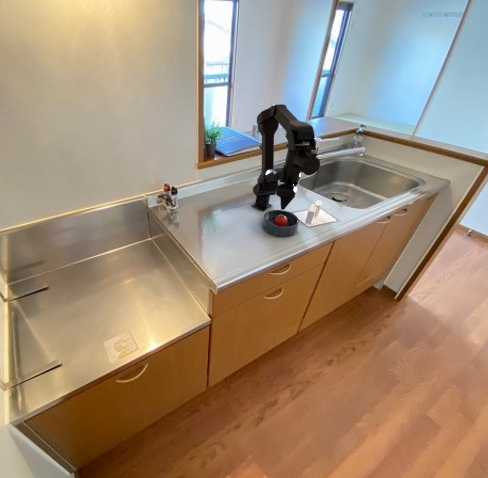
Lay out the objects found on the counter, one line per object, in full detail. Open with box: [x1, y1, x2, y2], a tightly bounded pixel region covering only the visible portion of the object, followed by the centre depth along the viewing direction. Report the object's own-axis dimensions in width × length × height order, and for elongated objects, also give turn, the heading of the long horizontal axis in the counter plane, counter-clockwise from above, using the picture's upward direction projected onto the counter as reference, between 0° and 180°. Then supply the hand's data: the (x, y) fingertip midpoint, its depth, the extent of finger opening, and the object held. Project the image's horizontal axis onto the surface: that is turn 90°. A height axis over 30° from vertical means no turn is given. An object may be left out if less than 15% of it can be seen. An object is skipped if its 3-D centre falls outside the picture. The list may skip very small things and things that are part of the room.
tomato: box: [274, 214, 287, 227], centre depth 107 cm, size 5×5×5 cm
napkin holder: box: [292, 199, 338, 228], centre depth 114 cm, size 15×11×6 cm
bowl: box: [262, 209, 300, 237], centre depth 108 cm, size 13×13×4 cm
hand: (284, 203), depth 103 cm, fingers open, 9 cm apart
